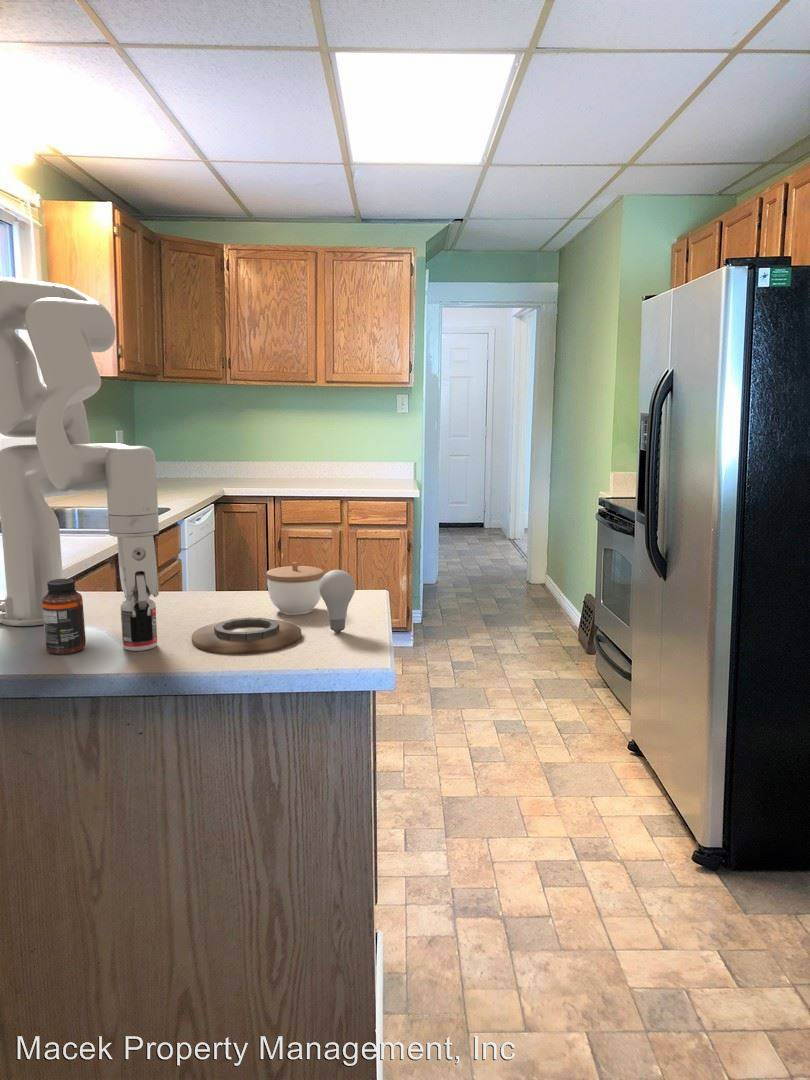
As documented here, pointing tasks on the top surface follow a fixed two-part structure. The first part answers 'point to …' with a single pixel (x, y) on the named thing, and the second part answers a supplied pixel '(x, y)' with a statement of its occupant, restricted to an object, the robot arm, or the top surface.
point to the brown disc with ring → (246, 636)
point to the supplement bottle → (63, 618)
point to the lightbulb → (337, 596)
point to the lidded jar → (294, 588)
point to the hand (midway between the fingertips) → (139, 634)
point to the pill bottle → (126, 627)
